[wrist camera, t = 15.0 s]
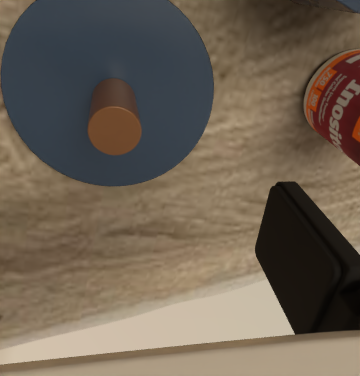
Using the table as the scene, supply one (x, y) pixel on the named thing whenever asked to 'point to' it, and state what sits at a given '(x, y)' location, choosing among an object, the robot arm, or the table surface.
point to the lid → (107, 87)
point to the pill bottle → (337, 102)
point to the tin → (333, 4)
